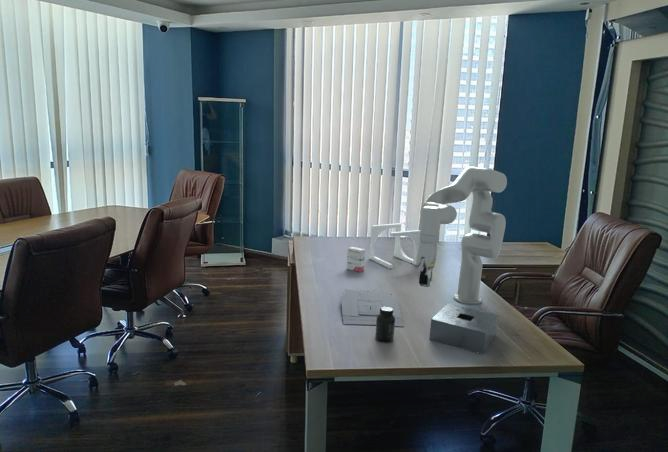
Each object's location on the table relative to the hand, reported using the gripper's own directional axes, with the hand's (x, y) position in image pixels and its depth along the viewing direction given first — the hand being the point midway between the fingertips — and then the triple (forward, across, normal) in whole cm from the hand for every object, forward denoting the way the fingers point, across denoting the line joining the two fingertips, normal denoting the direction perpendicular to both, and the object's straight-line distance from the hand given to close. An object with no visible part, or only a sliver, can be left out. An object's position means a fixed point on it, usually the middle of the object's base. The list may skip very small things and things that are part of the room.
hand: (425, 281), depth 197 cm
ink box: (+18, -46, -55) cm, 74 cm away
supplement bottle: (+17, +23, -6) cm, 29 cm away
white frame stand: (+19, -74, -45) cm, 89 cm away
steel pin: (+1, 0, 0) cm, 1 cm away
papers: (+18, +2, -22) cm, 29 cm away
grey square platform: (+18, +3, +18) cm, 25 cm away
